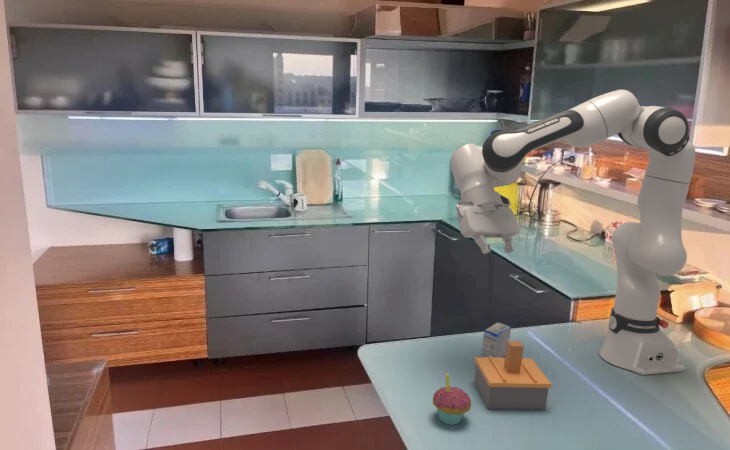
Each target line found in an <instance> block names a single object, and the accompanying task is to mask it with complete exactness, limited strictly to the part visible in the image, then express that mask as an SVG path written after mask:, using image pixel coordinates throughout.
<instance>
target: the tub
mask: <svg viewBox="0 0 730 450" xmlns="http://www.w3.org/2000/svg"><path fill="white" fill-rule="evenodd" d="M473 379H474V380H473V384H474V386H475V388H476V390H477V392H478V393H479V396H480V398H481V399H482V402H483V403H484V405H485V406H486V409H487V410H524V411H525V410H529V411H530V410H531V411H532V410H534V411H535V410H536V411H539V410H540V411H541V410H543V411H545V410H546V406H547V401H548V395H549V394H548V393H549V388H527V387H489V385H488V383H487V382H486V380H485V378H484V376H483V375H482V373H481V371H480V369H479V368H478V366H477V364H476V363H475V369H474V378H473Z"/></svg>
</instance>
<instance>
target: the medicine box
mask: <svg viewBox="0 0 730 450" xmlns="http://www.w3.org/2000/svg"><path fill="white" fill-rule="evenodd" d="M511 329H512V328H511V326H509V325H506V324H504V323H500V322H496V323H494V324H492V325H491V326H489V327H487V328H486V329H484V331H483V340H482V346H481V354H480V357H489V356H491V357H496V358H504V357H505V355H506V347H507V341H510V338H511V337H510V336H511Z"/></svg>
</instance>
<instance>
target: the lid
mask: <svg viewBox="0 0 730 450" xmlns="http://www.w3.org/2000/svg"><path fill="white" fill-rule="evenodd" d="M523 354H524V345H523V344H522V342H521V341H520V340H509V341H507V347H506V355H505V356H504V357H502V358H496V357H491V356H489V357H481V356H475V357H474V362H475V365H476V364H477V366H478V368H479V369H480V371H481V373H482V375H483V376H484V378H485V380H486V382H487V383H488V385H489V387H527V388H548V389H551V388H552V385H553V384H552V383H551V381H550V380H549V379H548V377H547V376H546V375H545V374H544V373H543V371H542V370H541V369H540V368H539V365H537V363H536V361H534V360H533V358H532V357H530V358H529V357H523Z"/></svg>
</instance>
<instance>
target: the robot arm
mask: <svg viewBox="0 0 730 450" xmlns="http://www.w3.org/2000/svg"><path fill="white" fill-rule="evenodd" d="M689 133H690V125H689V122H688V119H687V117H686V115H685V114H684V113H682V112H681V111H680V110H678V109H675V108H672V107H665V106H658V105H649V106H642V105H640V104H639V101H638V99H637V97H636V96H635V95H634V93H632V92H631V91H629V90H626V89H616V90H613V91H610V92H609V91H608V92H606V93H603V94H600V95H598V96H596V97H593V98H590V99H589V100H586V101H585V102H583V103H580V104H578V105H575V106H574V107H572V108H570V109H568V110H564V111H560V112H557V113H555V114H551V115H550V116H547V117H544V118H542V119H539V120H537V121H535V122H532V123H529V124H527V125H524V126H522V127H518V128H514V129H511V128H510V129H502V130H498V131H495V132H493V133H492V134H490V135H489V136H488V137H487V138H486V139H485V140H484V142H483V144H482V146H481V145H477V144H475V143H467V144H466V143H465V144H462V145H461V146H460V147H458V148H457V149H456V150H455V151H454V152H453V153H452V155H451V157H450V168H451V172H452V175H453V176H452V177H453V178H454V182H455V184H456V186H457V188H458V189H459V191H460V192H459V193H460V200H461V201H458V202H457V204H456V206H455V208H456V218H457V223H458V224H457V225H458V228H459V231H460V233H461V235H462V236H463V237H464V238H473V240H474V242H475V244H476V245H477V246H478V247H479V248H480V251H481V253H482V254H489V253H491V252H492V249H491V245H490V244H487V242H486V240H485V239H486V238H488V239H489V238H490V239H502V241H503V242H504V246H503V250H504V252H505V254H512V253H513V252H514V251H515V250H514V247H513V237H515V236H516V235H518V234H519V233H520V227H519V222H518V221H517V218H516V215H515V213H514V210H513V209H512V208H511V207H510V206H511V205H512V204H511V203H512V202H511V201H510V198H508V197H506V196H504V195H502V194H500V193H499V192H498V191H496V190H495V188H497V187H498V188H499V187H504V186H505V187H506V186H508V185H511V184H513V183H515V182H516V181H518V179H519V178H520V177H521V174H522V170H523V166H524V165H523V161H524V159H525V157H526V156H527V155H529V154H530V153H531V152H533V151H536V150H538V149H540V148H543V147H546V146H548V145H550V144H553V143H555V142H558V141H565V142H566V143H568V144H569V145H571V146H572V147H575V148H579V149H583V148H587V147H591V146H594V145H596V144H598V143H601V142H603V141H605V140H607V139H609V138H611V137H613V136H615V135H617V136H618V137H619V138H620V140H621V141H622V142H623V143H625V144H627V145H629V146H631V147H632V146H633V147H636V148H640V149H643V150H647V154H648V164H647V166H646V169H645V172H644V175H643V179H642V183H641V186H640V190H639V193H638V197H637V201H636V202H637V203H636V204H637V207H638V210H639V216H640V217H639V218H640V222H634V221H627V222H623V223H621V224H619V225H618V226H616V228H615V229H614V231H613V232H612V234H611V235H612V236H611V244H612V247H613V249H614V252H615V259H616V260H615V261H616V276H617V279H616V280H617V284H616V290H615V295H614V297H615V298H614V303H613V307H612V308H611V310H610V315H609V321H608V330H607V334H606V337H605V339H604V342H603V344H602V346H601V348H600V349H599V352H598V353H599V354H598V355H599V356H600V357H601V358H602V359H603V360H604V361H606V362H607V363H609V364H612V365H614V366H616V367H619V368H621V369H625V370H629V371H631V372H634V373H636V374H639V375H642V376H646V375H647V376H648V375H657V374H666V373H668V374H669V373H677V372H678V373H679V372H684V371H685V365H684V363H683V361H681V360H680V359H679V358H678V349H677V348H678V347H677V346H676V344H675V343H674V342H673V341H672V339H670V338H669V337H668V336H667V335H666V334H665V332H664V331H662V330H661V328H660V327H662V328H663V329H668V327H669V325H670V323H669V321H666V320H665V319H661V318H660V317H659V316H657V314H658V313H657V312H658V308H659V303H660V298H661V293H662V292H661V287H660V284H659V282H658V279H657V276H661V277H672V276H674V275H676V274H678V273H680V272H681V271H682V269H683V268H684V267H685V265H686V263H687V258H688V253H687V252H686V249H685V245H684V244H683V243H684V242H683V239H682V214H683V209H684V205H685V201H686V198H687V194H688V191H689V189H690V183H691V180H692V177H693V172H694V168H695V167H694V166H695V159H696V147H695V145H694V144H693V143H692V142H691V141H690V138H689Z"/></svg>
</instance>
